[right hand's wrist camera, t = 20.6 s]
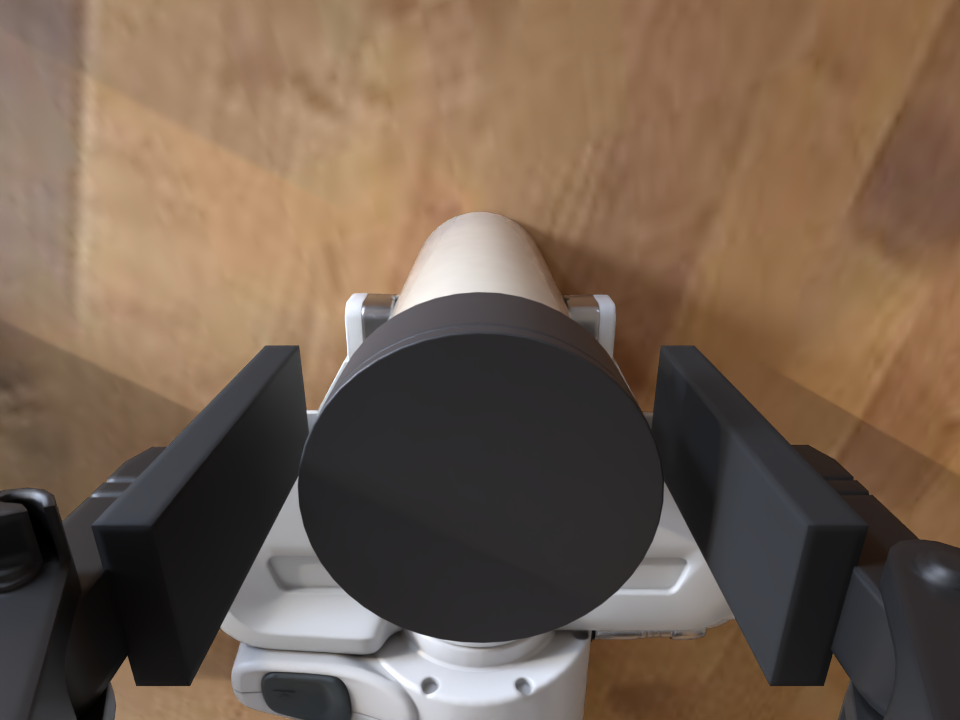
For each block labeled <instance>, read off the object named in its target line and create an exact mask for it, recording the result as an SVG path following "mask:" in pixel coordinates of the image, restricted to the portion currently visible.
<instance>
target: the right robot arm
mask: <svg viewBox="0 0 960 720" xmlns="http://www.w3.org/2000/svg"><path fill="white" fill-rule="evenodd" d="M651 430H652V432H653V434H654V437H655V439H656V442H657V445H658V449H659V452H660V456H661V459H662V467H663V475H664V482H665V484H666V486H667V488H668V489H669V491H670V493H671V495H672V497H673V499H674V501H675V503H676V505H677V507H678V509H679V511H680V513H681V515H682V517H683V518H684V520H685V522H686V524H687V526H688V528H689V530H690V532H691V534H692V536H693V538H694V540H695V542H696V544H697V546H698V547H699V549H700V551H701V553H702V555H703V557H704V559H705V561H706V563H707V565H708V567H709V569H710V571H711V573H712V575H713V576H714V578H715V580H716V582H717V584H718V586H719V588H720V590H721V592H722V594H723V596H724V598H725V600H726V602H727V604H728V605H729V607H730V609H731V611H732V613H733V615H734V617H735V619H736V621H737V623H738V625H739V627H740V629H741V631H742V633H743V635H744V636H745V638H746V640H747V642H748V644H749V646H750V648H751V650H752V652H753V654H754V656H755V658H756V660H757V662H758V664H759V665H760V667H761V669H762V671H763V673H764V675H765V677H766V679H767V681H768V683H769V685H770V686H824V683H825V680H826V676H827V672H828V669H829V665H830V662H831V658H832V655H833V654H834V655H835V657H836V658H837V660H838V661H839V663H840V664H841V666H842V667H843V669H844V670H845V672H846V673H847V675H848V676H849V678H850V682H849V685H848V688H847V692H846V695H845V698H844V701H843V705H842V708H841V711H840V715H839V718H838V720H960V548H957V547H954V546H950V545H947V544H944V543H941V542H936V541H929V540H921V539H919V538H917V537H916V536H915V535H914V534H913V533H912V532H911V531H910V530H909V529H908V528H907V527H906V526H905V525H904V524H903V523H902V522H901V521H899V520H898V519H897V518H896V517H895V516H894V515H893V514H892V513H891V512H890V511H889V510H888V509H887V508H886V507H885V506H884V505H882V504H881V503H880V502H879V501H878V500H877V499H876V498H875V497H874V496H873V495H869V491H868V490H867V489H866V488H864V487H863V486H862V485H861V484H860V483H859V482H858V481H857V480H853V476H852V475H851V474H850V473H849V472H848V471H846V470H845V469H844V468H843V467H842V466H841V465H840V464H839V463H838V462H837V461H836V460H835V459H833V458H831V457H829V456H827V455H825V454H824V453H822V452H820V451H818V450H816V449H814V448H813V447H811V446H809V445H790V443H789V442H788V441H787V440H786V439H785V438H784V437H783V436H782V435H781V434H780V433H779V432H778V431H777V430H776V429H775V428H774V427H773V426H772V425H771V424H770V423H769V422H768V421H767V420H766V419H765V418H764V417H763V416H762V415H761V414H760V413H759V412H758V411H757V410H756V408H755V407H754V406H753V405H752V404H751V403H750V402H749V401H748V400H747V399H746V398H745V397H744V396H743V395H742V394H741V393H740V392H739V391H738V390H737V389H736V388H735V387H734V386H733V385H732V384H731V383H730V382H729V381H728V380H727V379H726V378H725V377H724V376H723V375H722V373H721V372H720V371H719V370H718V369H717V368H716V367H715V366H714V365H713V364H712V363H711V362H710V361H709V360H708V359H707V358H706V357H705V356H704V355H703V354H702V353H701V352H700V351H699V350H698V349H697V348H696V347H695V346H661V350H660V359H659V367H658V376H657V384H656V393H655V402H654V410H653V419H652V427H651ZM308 435H309V427H308V419H307V410H306V402H305V393H304V384H303V376H302V367H301V359H300V350H299V346H265V347H264V348H263V349H262V350H261V351H260V352H259V353H258V354H257V355H256V356H255V357H254V358H253V359H252V360H251V361H250V362H249V363H248V364H247V365H246V366H245V367H244V368H243V369H242V370H241V371H240V372H239V373H238V375H237V376H236V377H235V378H234V379H233V380H232V381H231V382H230V383H229V384H228V385H227V386H226V387H225V388H224V389H223V390H222V391H221V392H220V393H219V394H218V395H217V396H216V397H215V398H214V399H213V400H212V401H211V402H210V403H209V404H208V405H207V406H206V407H205V408H204V410H203V411H202V412H201V413H200V414H199V415H198V416H197V417H196V418H195V419H194V420H193V421H192V422H191V423H190V424H189V425H188V426H187V427H186V428H185V429H184V430H183V431H182V432H181V433H180V434H179V435H178V436H177V437H176V438H175V439H174V440H173V441H172V442H171V443H170V445H169V446H168V447H151V448H150V449H148V450H146V451H144V452H142V453H141V454H139V455H137V456H135V457H133V458H131V459H130V460H128V461H126V462H125V463H124V464H123V465H122V466H121V467H119V468H118V469H117V470H116V471H115V472H114V473H113V474H112V475H111V476H110V477H109V478H108V479H107V483H103V484H102V485H101V486H99V487H98V488H97V489H96V490H95V491H94V492H93V493H92V497H88V498H87V499H86V500H85V501H84V502H83V503H82V504H81V505H80V506H78V507H77V508H76V509H75V510H74V511H73V512H72V513H71V514H70V515H69V516H68V517H67V518H66V519H65V520H64V521H63V522H62V520H61V517H60V514H59V510H58V507H57V504H56V500H55V497H54V495H52V494H51V493H49V492H47V491H46V490H44V489H34V488H20V489H11V490H3V491H0V720H114V719H115V711H116V702H115V696H114V692H113V688H112V685H111V682H110V681H111V680H112V678H113V677H114V675H115V674H116V672H117V671H118V669H119V667H120V666H121V664H122V663H123V661H124V660H125V658H126V657H127V655H128V658H129V662H130V665H131V669H132V672H133V676H134V680H135V683H136V686H190V685H191V683H192V681H193V679H194V677H195V675H196V673H197V671H198V669H199V667H200V665H201V664H202V662H203V660H204V658H205V656H206V654H207V652H208V650H209V648H210V646H211V644H212V642H213V640H214V638H215V636H216V635H217V633H218V631H219V629H220V627H221V625H222V623H223V621H224V619H225V617H226V615H227V613H228V611H229V609H230V607H231V605H232V604H233V602H234V600H235V598H236V596H237V594H238V592H239V590H240V588H241V586H242V584H243V582H244V580H245V578H246V576H247V575H248V573H249V571H250V569H251V567H252V565H253V563H254V561H255V559H256V557H257V555H258V553H259V551H260V549H261V547H262V546H263V544H264V542H265V540H266V538H267V536H268V534H269V532H270V530H271V528H272V526H273V524H274V522H275V520H276V518H277V517H278V515H279V513H280V511H281V509H282V507H283V505H284V503H285V501H286V499H287V497H288V495H289V493H290V491H291V489H292V488H293V486H294V484H295V482H296V480H297V478H298V476H299V465H300V461H301V457H302V452H303V448H304V444H305V442H306V440H307V437H308Z"/></svg>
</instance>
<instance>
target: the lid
mask: <svg viewBox="0 0 960 720" xmlns="http://www.w3.org/2000/svg"><path fill="white" fill-rule="evenodd" d="M298 498H299V508H300V512H301V517H302V521H303V526H304V529H305V531H306V534H307V536H308V539H309V542H310V544H311V546H312V548H313V550H314V552H315V554H316V555H317V557H318V559H319V561H320V562H321V564H322V565H323V567H324V568H325V569H326V571H327V572H328V573H329V575H330V576H331V577H332V579H333V580H334V581H335V582H336V583H337V584H338V585H339V586H340V587H341V588H342V589H343V590H344V591H345V592H346V593H347V594H348V595H349V596H350V597H352V598H353V599H354V600H355V601H357V602H358V603H359V604H360V605H362V606H363V607H364V608H366V609H368V610H369V611H371V612H372V613H374V614H376V615H377V616H379V617H380V618H382V619H384V620H386V621H388V622H390V623H393V624H395V625H397V626H399V627H401V628H404V629H407V630H409V631H412V632H415V633H418V634H421V635H425V636H429V637H433V638H437V639H442V640H449V641H456V642H468V643H493V642H507V641H513V640H519V639H525V638H529V637H533V636H536V635H540V634H544V633H547V632H550V631H552V630H555V629H558V628H560V627H563V626H565V625H568V624H570V623H571V622H573V621H575V620H577V619H579V618H581V617H583V616H585V615H587V614H588V613H590V612H591V611H593V610H594V609H596V608H597V607H599V606H600V605H602V604H603V603H604V602H605V601H606V600H608V599H609V598H610V597H611V596H612V595H614V594H615V593H616V592H617V591H618V590H619V589H620V588H621V587H622V586H623V585H624V584H625V583H626V581H627V580H628V579H629V578H630V577H631V576H632V575H633V573H634V572H635V571H636V569H637V568H638V566H639V565H640V563H641V562H642V561H643V559H644V557H645V555H646V553H647V552H648V550H649V548H650V546H651V544H652V542H653V539H654V537H655V534H656V531H657V528H658V525H659V522H660V517H661V512H662V507H663V501H664V475H663V467H662V459H661V456H660V452H659V449H658V445H657V442H656V439H655V437H654V434H653V432H652V430H651V428H650V426H649V424H648V421H647V419H646V418H645V416H644V414H643V412H642V411H641V409H640V407H639V405H638V403H637V402H636V400H635V398H634V396H633V395H632V393H631V391H630V389H629V388H628V386H627V384H626V382H625V380H624V379H623V377H622V375H621V373H620V372H619V370H618V368H617V366H616V365H615V363H614V362H613V360H612V359H611V357H610V356H609V354H608V353H607V351H606V350H605V349H604V348H603V347H602V345H601V344H600V343H599V342H598V341H597V340H596V339H595V338H594V336H593V335H591V334H590V333H589V332H588V331H587V330H585V329H584V328H583V327H582V326H581V325H580V324H578V323H577V322H575V321H574V320H572V319H571V318H569V317H568V316H566V315H564V314H563V313H561V312H560V311H557V310H555V309H553V308H551V307H549V306H547V305H544V304H542V303H539V302H536V301H533V300H530V299H527V298H524V297H520V296H514V295H509V294H503V293H490V292H471V293H459V294H453V295H448V296H443V297H438V298H434V299H431V300H429V301H426V302H423V303H420V304H417V305H415V306H413V307H411V308H409V309H407V310H405V311H403V312H401V313H399V314H397V315H395V316H394V317H392V318H391V319H390V320H388V321H387V322H385V323H384V324H382V325H381V326H379V327H378V328H377V329H376V330H375V331H374V332H373V333H372V334H371V335H370V336H368V337H367V338H366V339H365V340H364V342H363V343H362V344H361V345H360V346H359V348H358V349H357V350H356V351H355V352H354V354H353V355H352V357H351V358H350V360H349V361H348V363H347V365H346V366H345V368H344V370H343V371H342V373H341V375H340V377H339V379H338V380H337V382H336V384H335V386H334V388H333V389H332V391H331V393H330V395H329V396H328V398H327V400H326V402H325V404H324V405H323V407H322V409H321V411H320V413H319V415H318V416H317V418H316V420H315V422H314V423H313V425H312V428H311V430H310V432H309V435H308V437H307V440H306V442H305V444H304V448H303V452H302V457H301V461H300V465H299V476H298Z"/></svg>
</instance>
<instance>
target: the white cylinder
mask: <svg viewBox="0 0 960 720" xmlns="http://www.w3.org/2000/svg"><path fill="white" fill-rule="evenodd" d="M471 292H490V293H503V294H509V295H514V296H520V297H524V298H527V299H530V300H533V301H536V302H539V303H542V304H544V305H547V306H549V307H551V308H553V309H555V310H557V311H560V312H561V313H563V314H564V315H566V316H568V317H569V318H571V319H572V320H573V318H572V316H571V314H570V312H569V310H568V308H567V306H566V304H565V302H564V299H563V297H562V295H561V293H560V291H559V289H558V287H557V285H556V283H555V281H554V279H553V276H552V274H551V272H550V270H549V268H548V266H547V264H546V262H545V260H544V258H543V256H542V254H541V251H540V249H539V247H538V245H537V244H536V242H535V241H534V239H533V238H532V236H531V235H530V234H529V233H528V232H527V231H526V230H525V229H524V228H523V227H522V226H520V225H519V224H517V223H516V222H514V221H513V220H511V219H509V218H507V217H504V216H501V215H498V214H494V213H488V212H474V213H467V214H463V215H460V216H457V217H454V218H452V219H450V220H448V221H446V222H445V223H443V224H442V225H441V226H439V227H438V228H437V229H436V230H435V231H434V232H433V233H432V234H431V235H430V236H429V238H428V239H427V240H426V242H425V243H424V245H423V247H422V249H421V251H420V253H419V255H418V257H417V259H416V261H415V264H414V266H413V268H412V270H411V272H410V274H409V276H408V278H407V280H406V283H405V285H404V287H403V289H402V291H401V293H400V295H399V297H398V300H397V302H396V304H395V306H394V308H393V310H392V312H391V314H390V316H389V319H388V320H390V319H391V318H392V317H394V316H395V315H397V314H399V313H401V312H403V311H405V310H407V309H409V308H411V307H413V306H415V305H417V304H420V303H423V302H426V301H429V300H431V299H434V298H438V297H443V296H448V295H453V294H459V293H471Z"/></svg>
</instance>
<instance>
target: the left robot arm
mask: <svg viewBox="0 0 960 720" xmlns="http://www.w3.org/2000/svg"><path fill="white" fill-rule="evenodd" d="M398 297H399V295H398V294H368V293H358V294H353V295H352V296H351V297H350V299H349V300H348V301H347V304H346V311H345V324H346V337H347V350H348V355H347V357H346V359H345V361H344V363H343V364H342V366H341V368H340V370H339V372H338V374H337V376H336V378H335V379H334V381H333V383H332V385H331V387H330V389H329V391H328V392H327V394H326V396H325V398H324V400H323V402H322V404H321V406H320V407H319V409H318V410H307V419H308V427H309V432H310V430H311V428H312V425H313V423H314V422H315V420H316V418H317V416H318V415H319V413H320V411H321V409H322V407H323V405H324V404H325V402H326V400H327V398H328V396H329V395H330V393H331V391H332V389H333V388H334V386H335V384H336V382H337V380H338V379H339V377H340V375H341V373H342V371H343V370H344V368H345V366H346V365H347V363H348V361H349V360H350V358H351V357H352V355H353V354H354V352H355V351H356V350H357V349H358V348H359V346H360V345H361V344H362V343H363V342H364V340H365V339H366V338H367V337H368V336H370V335H371V334H372V333H373V332H374V331H375V330H376V329H377V328H378V327H379V326H381V325H382V324H384V323H385V322H387V321H388V319H389V316H390V314H391V312H392V310H393V308H394V306H395V304H396V302H397V300H398ZM563 299H564V302H565V304H566V306H567V308H568V310H569V312H570V314H571V316H572V318H573V320H574V321H575V322H577V323H578V324H580V325H581V326H582V327H583V328H584V329H585V330H587V331H588V332H589V333H590V334H591V335H593V336H594V338H595V339H596V340H597V341H598V342H599V343H600V344H601V345H602V347H603V348H604V349H605V350H606V351H607V353H608V354H609V356H610V357H611V359H612V360H613V362H614V363H615V365H616V366H617V368H618V370H619V372H620V373H621V375H622V377H623V379H624V380H625V378H624V376H623V374H622V372H621V370H620V368H619V366H618V365H617V363H616V361H615V359H614V357H613V349H614V337H615V326H616V309H615V304H614V302H613V301H612V300H611V298H610V297H609V296H608V295H563ZM625 382H626V380H625ZM626 384H627V382H626ZM627 386H628V384H627ZM628 388H629V386H628ZM629 389H630V388H629ZM630 391H631V390H630ZM631 393H632V392H631ZM632 395H633V394H632ZM634 398H635V397H634ZM635 400H636V399H635ZM636 402H637V401H636ZM643 414H644V416H645V418H646V419H647V421H648V424H649V426H650V428H651V427H652V419H653V412H643ZM734 619H735V617H734V615H733V613H732V611H731V609H730V607H729V605H728V604H727V602H726V600H725V598H724V596H723V594H722V592H721V590H720V588H719V586H718V584H717V582H716V580H715V578H714V576H713V575H712V573H711V571H710V569H709V567H708V565H707V563H706V561H705V559H704V557H703V555H702V553H701V551H700V549H699V547H698V546H697V544H696V542H695V540H694V538H693V536H692V534H691V532H690V530H689V528H688V526H687V524H686V522H685V520H684V518H683V517H682V515H681V513H680V511H679V509H678V507H677V505H676V503H675V501H674V499H673V497H672V495H671V493H670V491H669V489H668V488H667V486H666V484H665V482H664V501H663V507H662V512H661V517H660V522H659V525H658V528H657V531H656V534H655V537H654V539H653V542H652V544H651V546H650V548H649V550H648V552H647V553H646V555H645V557H644V559H643V561H642V562H641V563H640V565H639V566H638V568H637V569H636V571H635V572H634V573H633V575H632V576H631V577H630V578H629V579H628V580H627V581H626V583H625V584H624V585H623V586H622V587H621V588H620V589H619V590H618V591H617V592H616V593H615V594H614V595H612V596H611V597H610V598H609V599H608V600H606V601H605V602H604V603H603V604H602V605H600V606H599V607H597V608H596V609H594V610H593V611H591V612H590V613H588V614H587V615H585V616H583V617H581V618H579V619H577V620H575V621H573V622H571V623H570V624H568V625H565V626H563V627H560V628H558V629H555V630H552V631H550V632H547V633H544V634H540V635H536V636H533V637H529V638H525V639H519V640H513V641H507V642H493V643H468V642H456V641H449V640H442V639H437V638H433V637H429V636H425V635H421V634H418V633H415V632H412V631H409V630H407V629H404V628H401V627H399V626H397V625H395V624H393V623H390V622H388V621H386V620H384V619H382V618H380V617H379V616H377V615H376V614H374V613H372V612H371V611H369V610H368V609H366V608H364V607H363V606H362V605H360V604H359V603H358V602H357V601H355V600H354V599H353V598H352V597H350V596H349V595H348V594H347V593H346V592H345V591H344V590H343V589H342V588H341V587H340V586H339V585H338V584H337V583H336V582H335V581H334V580H333V579H332V577H331V576H330V575H329V573H328V572H327V571H326V569H325V568H324V567H323V565H322V564H321V562H320V561H319V559H318V557H317V555H316V554H315V552H314V550H313V548H312V546H311V544H310V542H309V539H308V536H307V534H306V531H305V529H304V526H303V521H302V517H301V512H300V508H299V498H298V478H297V480H296V482H295V484H294V486H293V488H292V489H291V491H290V493H289V495H288V497H287V499H286V501H285V503H284V505H283V507H282V509H281V511H280V513H279V515H278V517H277V518H276V520H275V522H274V524H273V526H272V528H271V530H270V532H269V534H268V536H267V538H266V540H265V542H264V544H263V546H262V547H261V549H260V551H259V553H258V555H257V557H256V559H255V561H254V563H253V565H252V567H251V569H250V571H249V573H248V575H247V576H246V578H245V580H244V582H243V584H242V586H241V588H240V590H239V592H238V594H237V596H236V598H235V600H234V602H233V604H232V605H231V607H230V609H229V611H228V613H227V615H226V617H225V619H224V621H223V623H222V625H221V627H220V628H221V629H222V630H223V631H224V632H225V633H226V634H228V635H229V636H231V637H232V638H234V639H236V640H238V641H240V645H239V649H238V652H237V655H236V659H235V662H234V665H233V669H232V674H231V680H232V687H233V691H234V694H235V696H236V697H237V699H238V700H239V701H240V702H241V703H242V704H243V705H245V706H247V707H249V708H251V709H254V710H257V711H261V712H265V713H269V714H273V715H278V716H282V717H286V718H290V719H294V720H583V715H584V705H585V695H586V685H587V674H588V664H589V653H590V642H591V641H592V639H594V640H597V639H598V640H633V639H638V638H639V639H643V638H645V637H646V638H650V637H669V638H670V639H674V640H692V639H698V638H701V637H704V636H705V634H706V629H710V628H715V627H717V626H720V625H723V624H724V623H726V622H728V621H730V620H734Z"/></svg>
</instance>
